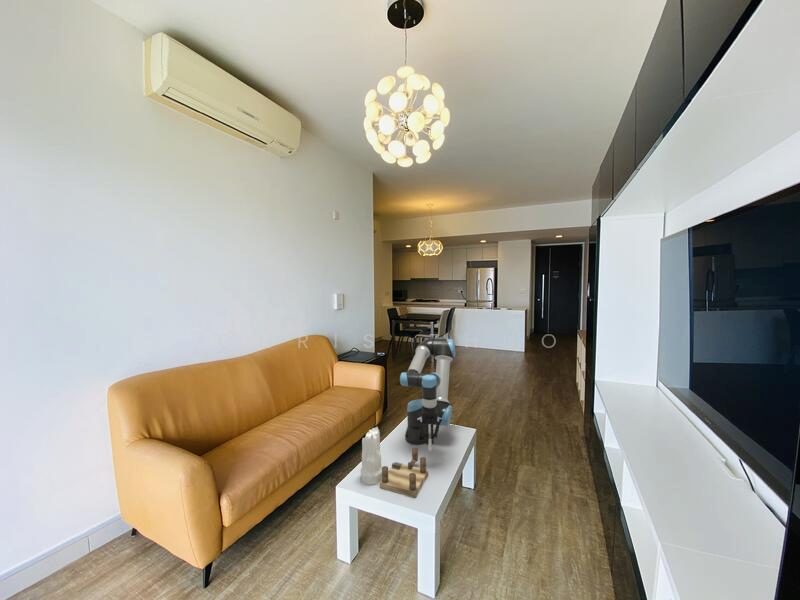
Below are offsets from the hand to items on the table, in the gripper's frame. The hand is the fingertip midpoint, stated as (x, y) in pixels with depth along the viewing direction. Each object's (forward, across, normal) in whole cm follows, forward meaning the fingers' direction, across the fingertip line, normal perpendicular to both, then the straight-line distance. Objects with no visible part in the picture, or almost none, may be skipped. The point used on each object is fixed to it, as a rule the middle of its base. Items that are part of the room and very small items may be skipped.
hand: (429, 449), depth 165 cm
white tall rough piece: (+9, +30, +9) cm, 32 cm away
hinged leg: (+6, +9, +2) cm, 11 cm away
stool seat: (+9, +14, +12) cm, 20 cm away
